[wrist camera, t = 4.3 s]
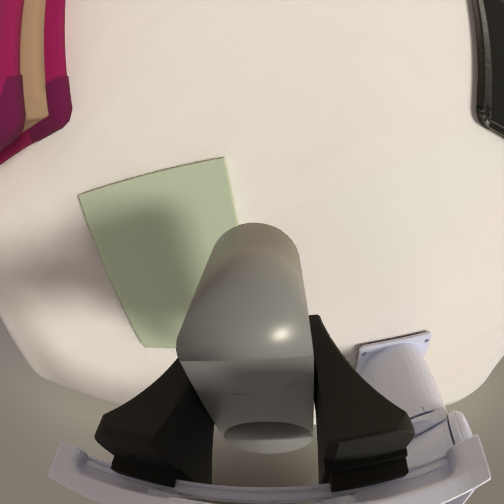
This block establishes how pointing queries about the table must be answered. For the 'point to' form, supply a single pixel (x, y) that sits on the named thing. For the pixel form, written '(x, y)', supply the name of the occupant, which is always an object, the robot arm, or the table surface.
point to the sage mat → (160, 240)
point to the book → (32, 73)
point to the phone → (490, 63)
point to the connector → (252, 341)
